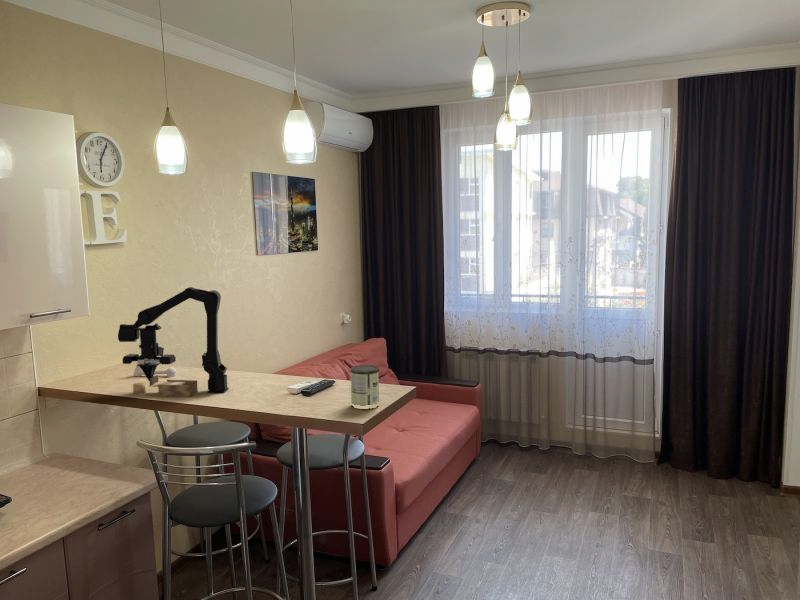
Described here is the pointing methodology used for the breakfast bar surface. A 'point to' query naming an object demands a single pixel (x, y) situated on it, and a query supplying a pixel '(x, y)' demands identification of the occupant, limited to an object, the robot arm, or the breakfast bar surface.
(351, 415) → the breakfast bar surface
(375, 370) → the coffee can
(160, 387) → the box
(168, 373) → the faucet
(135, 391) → the tan wooden cube
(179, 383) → the lid
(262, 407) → the breakfast bar surface
